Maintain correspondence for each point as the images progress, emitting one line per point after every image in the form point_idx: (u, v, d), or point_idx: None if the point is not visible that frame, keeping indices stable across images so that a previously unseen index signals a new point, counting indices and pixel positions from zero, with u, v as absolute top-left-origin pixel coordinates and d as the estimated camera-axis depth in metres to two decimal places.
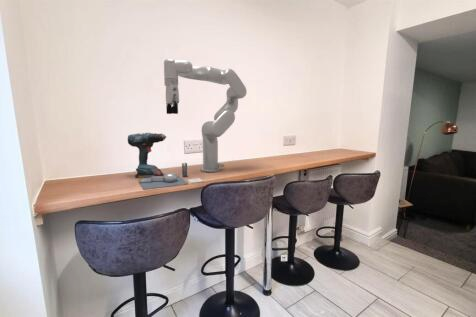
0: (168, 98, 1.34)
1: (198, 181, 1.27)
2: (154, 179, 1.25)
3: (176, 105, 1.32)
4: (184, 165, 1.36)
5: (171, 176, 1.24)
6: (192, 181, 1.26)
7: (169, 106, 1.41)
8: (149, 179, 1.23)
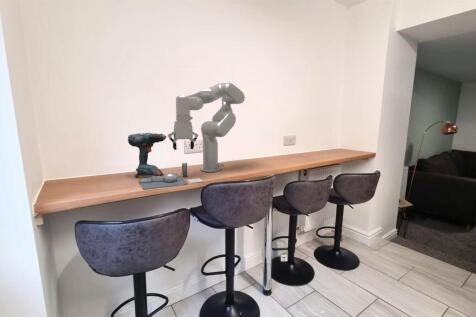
0: (186, 134, 1.32)
1: (198, 181, 1.27)
2: (154, 179, 1.25)
3: None
4: (184, 165, 1.36)
5: (171, 176, 1.24)
6: (192, 181, 1.26)
7: None
8: (149, 179, 1.23)
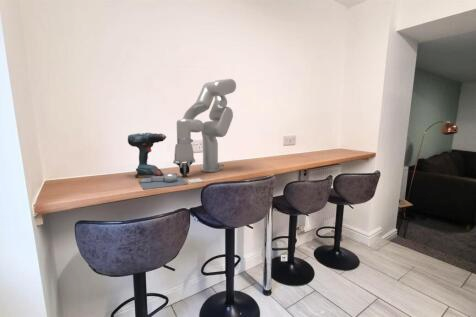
0: (187, 157, 1.35)
1: (198, 181, 1.27)
2: (154, 179, 1.25)
3: None
4: (184, 165, 1.36)
5: (171, 176, 1.24)
6: (192, 181, 1.26)
7: (181, 165, 1.36)
8: (149, 179, 1.23)
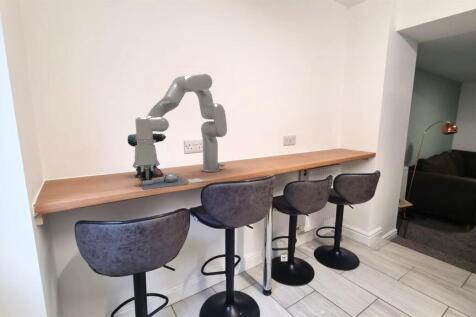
0: (149, 160, 1.18)
1: (198, 181, 1.27)
2: (155, 180, 1.22)
3: None
4: (146, 169, 1.19)
5: (173, 176, 1.24)
6: (192, 181, 1.26)
7: None
8: (151, 181, 1.20)
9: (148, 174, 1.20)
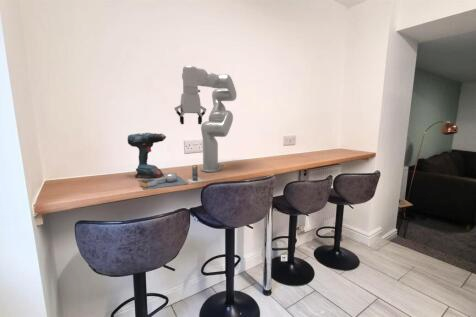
0: (194, 108, 1.25)
1: (198, 181, 1.27)
2: (157, 181, 1.20)
3: None
4: (195, 168, 1.27)
5: (175, 175, 1.25)
6: (192, 181, 1.26)
7: None
8: (155, 182, 1.18)
9: (197, 172, 1.28)
